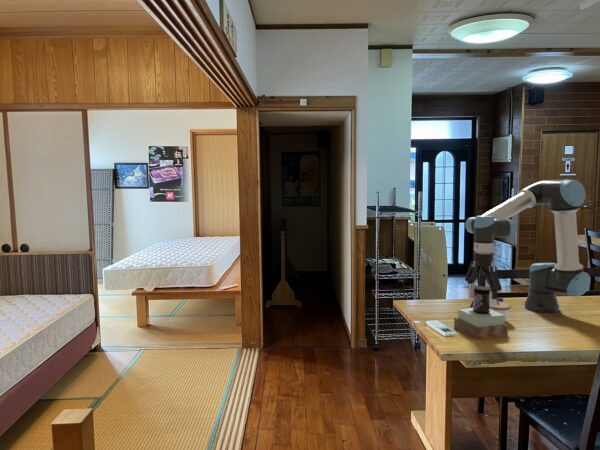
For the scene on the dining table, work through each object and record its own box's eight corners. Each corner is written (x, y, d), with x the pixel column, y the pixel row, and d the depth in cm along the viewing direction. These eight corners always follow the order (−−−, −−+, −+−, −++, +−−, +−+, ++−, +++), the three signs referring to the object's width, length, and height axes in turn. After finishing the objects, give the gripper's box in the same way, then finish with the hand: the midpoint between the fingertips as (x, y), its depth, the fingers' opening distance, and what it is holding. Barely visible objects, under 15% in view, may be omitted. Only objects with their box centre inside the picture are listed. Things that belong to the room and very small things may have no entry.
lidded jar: (511, 319, 198) (512, 299, 197) (507, 326, 189) (508, 305, 188) (487, 315, 204) (487, 296, 203) (482, 321, 195) (482, 301, 194)
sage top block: (483, 315, 190) (483, 306, 190) (504, 324, 178) (504, 315, 177) (458, 318, 187) (458, 309, 187) (477, 327, 174) (478, 317, 174)
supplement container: (473, 309, 186) (473, 285, 185) (489, 310, 184) (490, 286, 183) (472, 313, 180) (473, 289, 179) (490, 315, 178) (491, 290, 176)
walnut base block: (483, 325, 192) (483, 314, 192) (507, 336, 178) (507, 325, 177) (454, 328, 188) (454, 317, 188) (476, 340, 174) (476, 328, 173)
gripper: (457, 248, 191) (456, 295, 193) (496, 257, 167) (494, 311, 169) (471, 247, 193) (470, 294, 195) (512, 256, 169) (510, 309, 171)
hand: (481, 302), depth 182 cm, fingers open, 13 cm apart
